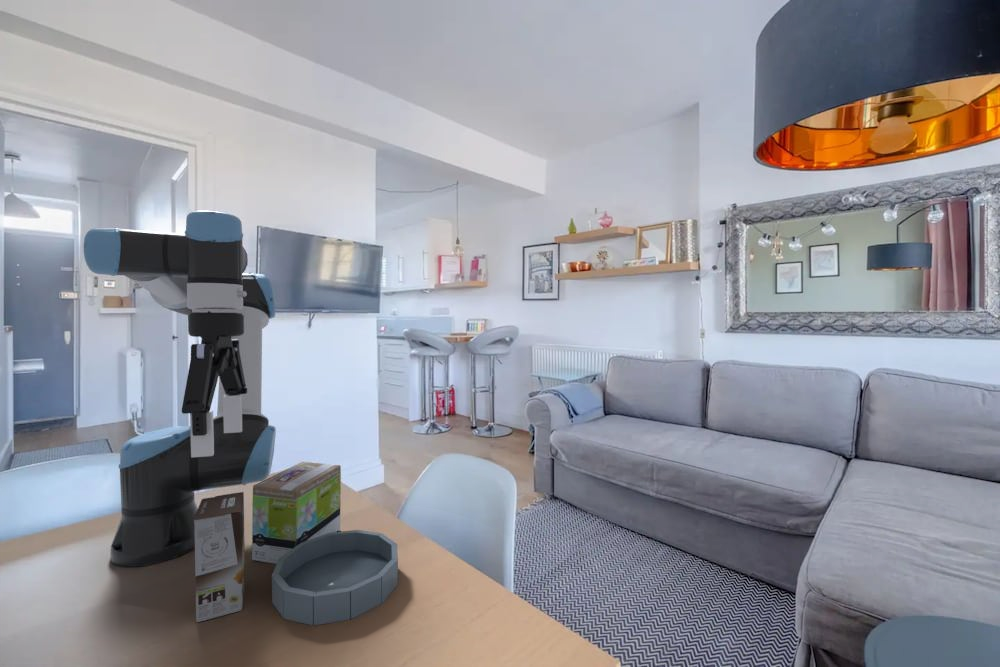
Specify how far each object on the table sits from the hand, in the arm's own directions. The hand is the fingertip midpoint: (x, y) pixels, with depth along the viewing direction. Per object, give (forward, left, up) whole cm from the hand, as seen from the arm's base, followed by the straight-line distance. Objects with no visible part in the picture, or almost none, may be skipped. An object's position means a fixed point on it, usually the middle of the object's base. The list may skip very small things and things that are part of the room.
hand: (219, 443), depth 71 cm
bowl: (0, +18, -26) cm, 32 cm away
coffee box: (0, 0, -26) cm, 26 cm away
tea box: (-16, +9, -26) cm, 32 cm away
